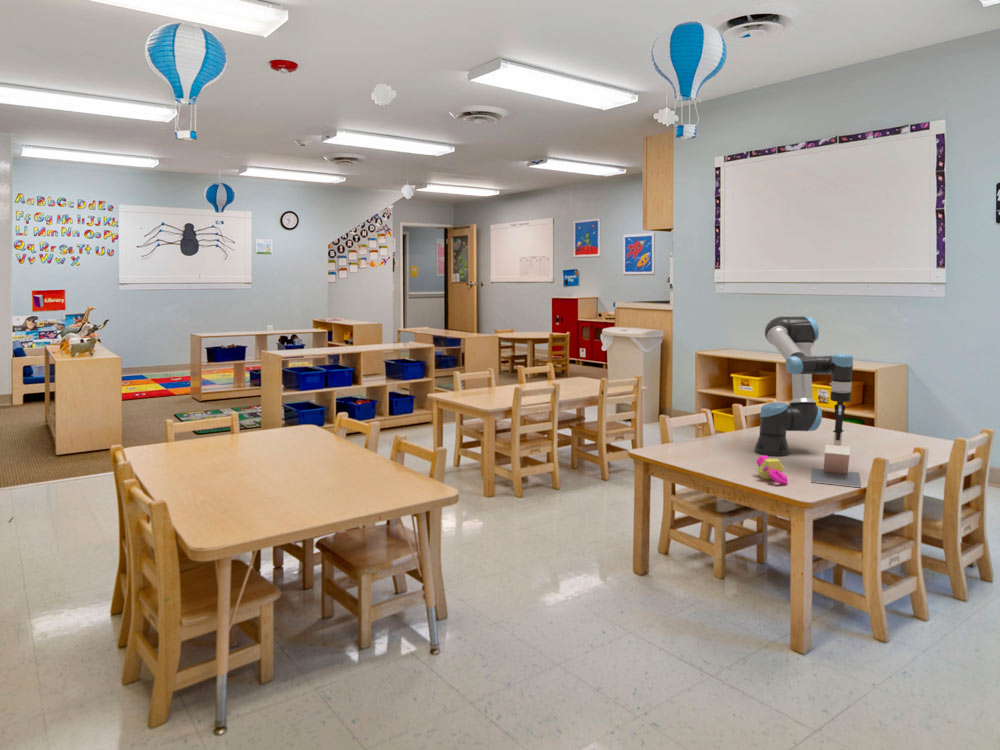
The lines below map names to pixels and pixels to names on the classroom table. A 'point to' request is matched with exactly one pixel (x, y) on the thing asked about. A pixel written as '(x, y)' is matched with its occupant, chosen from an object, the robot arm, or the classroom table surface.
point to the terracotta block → (836, 459)
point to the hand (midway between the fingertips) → (837, 447)
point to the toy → (771, 469)
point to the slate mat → (835, 478)
